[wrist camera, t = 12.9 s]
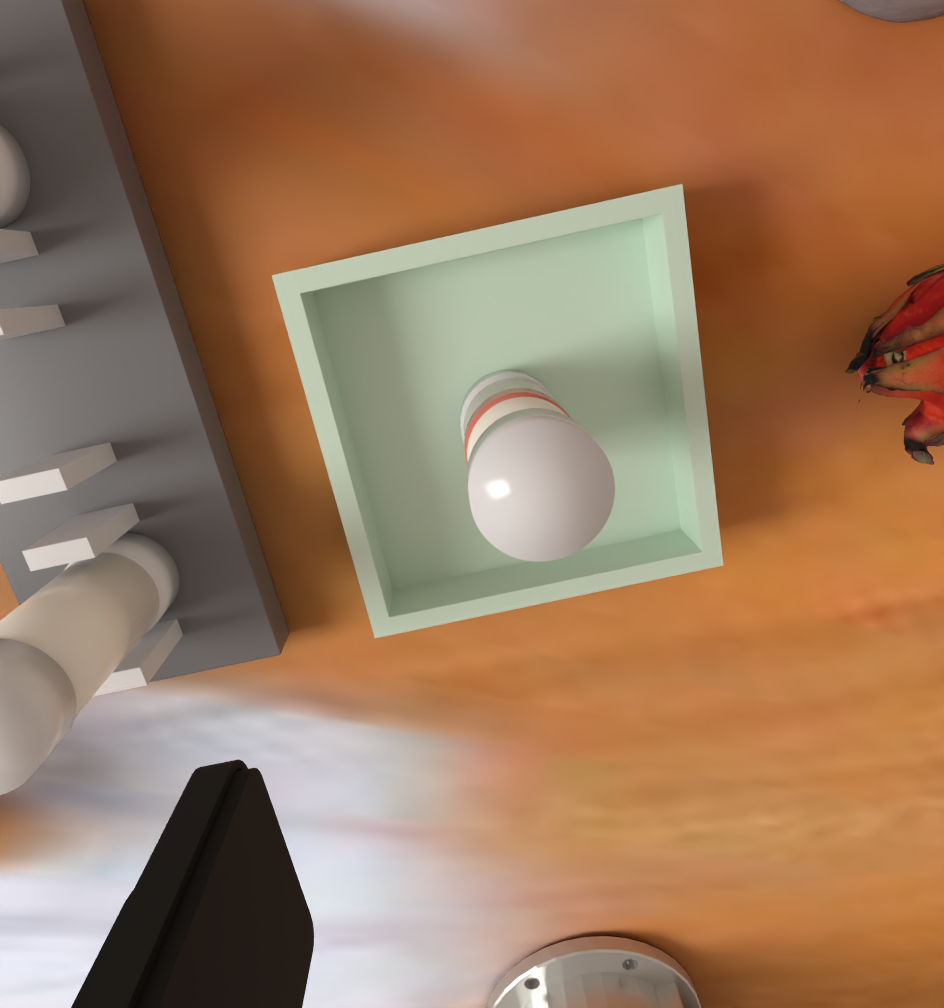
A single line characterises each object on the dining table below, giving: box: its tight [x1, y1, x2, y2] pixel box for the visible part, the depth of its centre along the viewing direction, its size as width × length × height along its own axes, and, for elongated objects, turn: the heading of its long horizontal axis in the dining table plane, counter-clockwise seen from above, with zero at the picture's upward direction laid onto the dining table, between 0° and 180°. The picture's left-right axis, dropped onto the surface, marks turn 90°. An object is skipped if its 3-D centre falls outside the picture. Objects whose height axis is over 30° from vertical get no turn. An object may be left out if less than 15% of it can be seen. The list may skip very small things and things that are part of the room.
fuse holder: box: [0, 0, 289, 696], centre depth 27 cm, size 10×26×6 cm, turn 12°
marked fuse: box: [460, 370, 615, 562], centre depth 25 cm, size 4×4×11 cm
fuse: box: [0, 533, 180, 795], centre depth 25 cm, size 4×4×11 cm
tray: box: [272, 184, 723, 638], centre depth 29 cm, size 15×15×4 cm
